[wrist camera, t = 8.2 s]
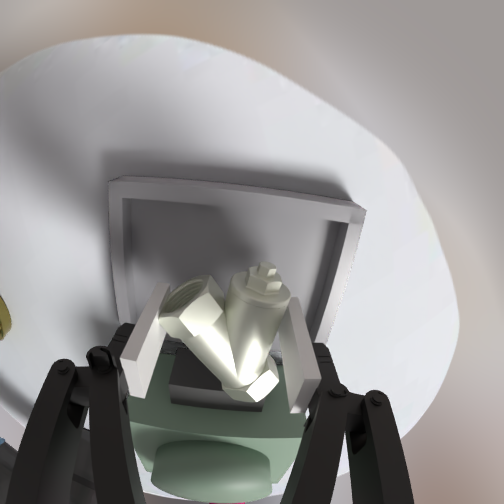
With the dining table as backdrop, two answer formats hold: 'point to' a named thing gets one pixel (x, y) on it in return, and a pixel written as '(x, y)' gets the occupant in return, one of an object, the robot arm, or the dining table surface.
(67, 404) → the robot arm
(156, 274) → the tray
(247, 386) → the pipe fitting
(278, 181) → the dining table surface
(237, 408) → the mower housing
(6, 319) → the brass rounded piece
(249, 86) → the dining table surface
